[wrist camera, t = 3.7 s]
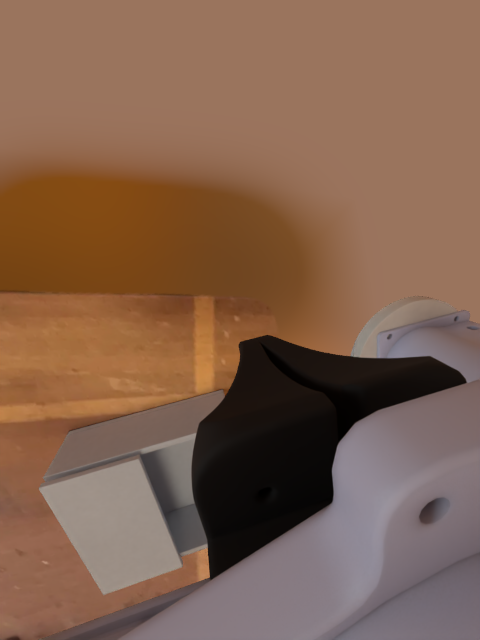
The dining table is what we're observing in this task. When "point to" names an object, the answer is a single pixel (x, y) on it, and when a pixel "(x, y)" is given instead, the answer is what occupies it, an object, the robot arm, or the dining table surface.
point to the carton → (131, 492)
